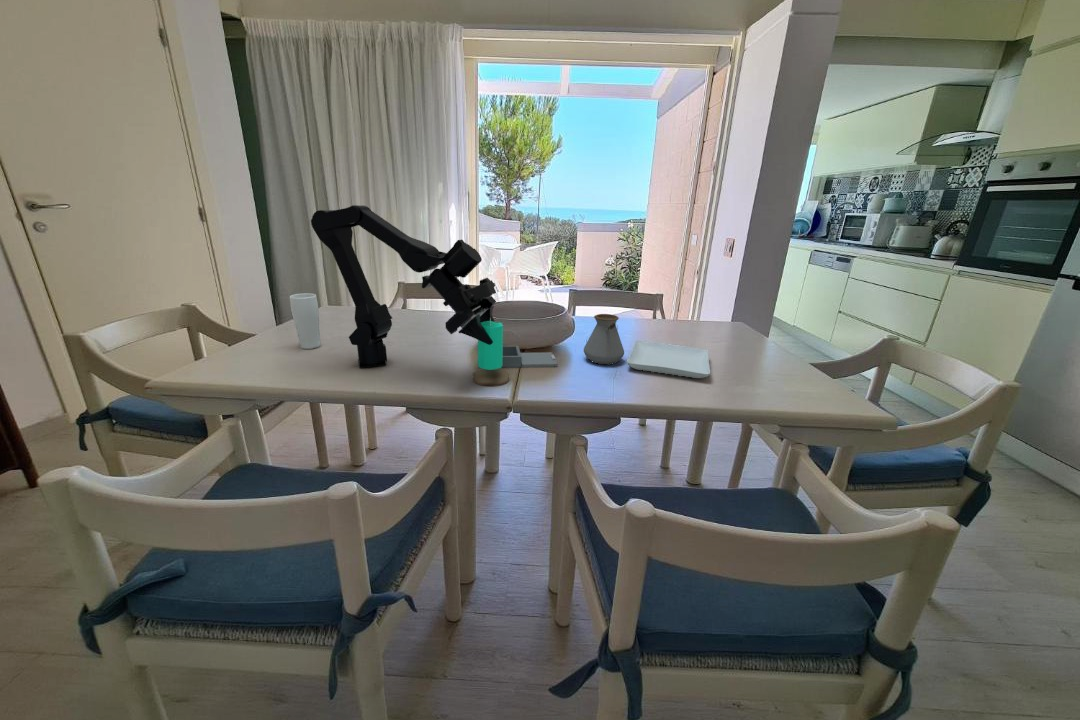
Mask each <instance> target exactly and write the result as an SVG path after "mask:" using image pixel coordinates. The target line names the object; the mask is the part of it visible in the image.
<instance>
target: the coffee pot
mask: <svg viewBox="0 0 1080 720" xmlns="http://www.w3.org/2000/svg"><path fill="white" fill-rule="evenodd" d="M593 318H594V319H595V321H596V325H595V326H594V329H593V330H592V332H591V334H590V335H589V337H588V338H587V339H588V340H587V341H586V343H585V345H584V347H583V354H584V355H585V357H586V358H587V359H590V360H591V361H593V362H595V363H594V364H596V363H599V364H598V365H600V364H612V363H615V362H616V363H617V362H619V361H621V359H622V358H623V357H624V355H625V350H624V346H623V344H622V340H621V336H620V334H619V331H618V330H619V326H618V325H617V322H618V320H619V319H620V318H619V316H617V315H615V314H609V313H599V314H595V315H594V316H593ZM590 360H589V361H590ZM591 361H590V362H591ZM593 362H592V363H593ZM616 363H615V364H616ZM612 365H613V364H612Z"/></svg>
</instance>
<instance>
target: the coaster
mask: <svg viewBox="0 0 1080 720" xmlns="http://www.w3.org/2000/svg"><path fill="white" fill-rule="evenodd" d="M472 373H473V374H472V382H474V383H475V384H476V385H479V386H483V387H499V386H503V385H506V384H507V383H509V382H510V373H509V372H508V371H507V370H506V369H503V368H499V369H494V370H487V369H482V368H480V369H478V370H475V371H474V372H472ZM505 383H506V384H505Z"/></svg>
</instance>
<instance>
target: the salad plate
mask: <svg viewBox="0 0 1080 720" xmlns="http://www.w3.org/2000/svg"><path fill="white" fill-rule="evenodd" d="M626 364H627V365H628V366H629V367H630V368H632V369H634V370H638V371H642V370H643V372H647V371H651V372H650V373H654V372H658V373H657V374H660V373H665V374H664V375H667V374H672V375H671V376H674V375H678V376H677V377H681V376H686V377H685V378H688V377H692V379H703V378H707V377H709V376H710V374H711V366H710V352H709V350H708V349H704V348H698V347H691V346H687V345H686V346H685V345H684V346H683V345H677V344H669V343H664V342H658V341H657V342H655V341H647V340H639V339H637V340H636V341H635V342H634V346H633V347H632V350H631V352H630V354H629V356H628V357H627V360H626Z"/></svg>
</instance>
